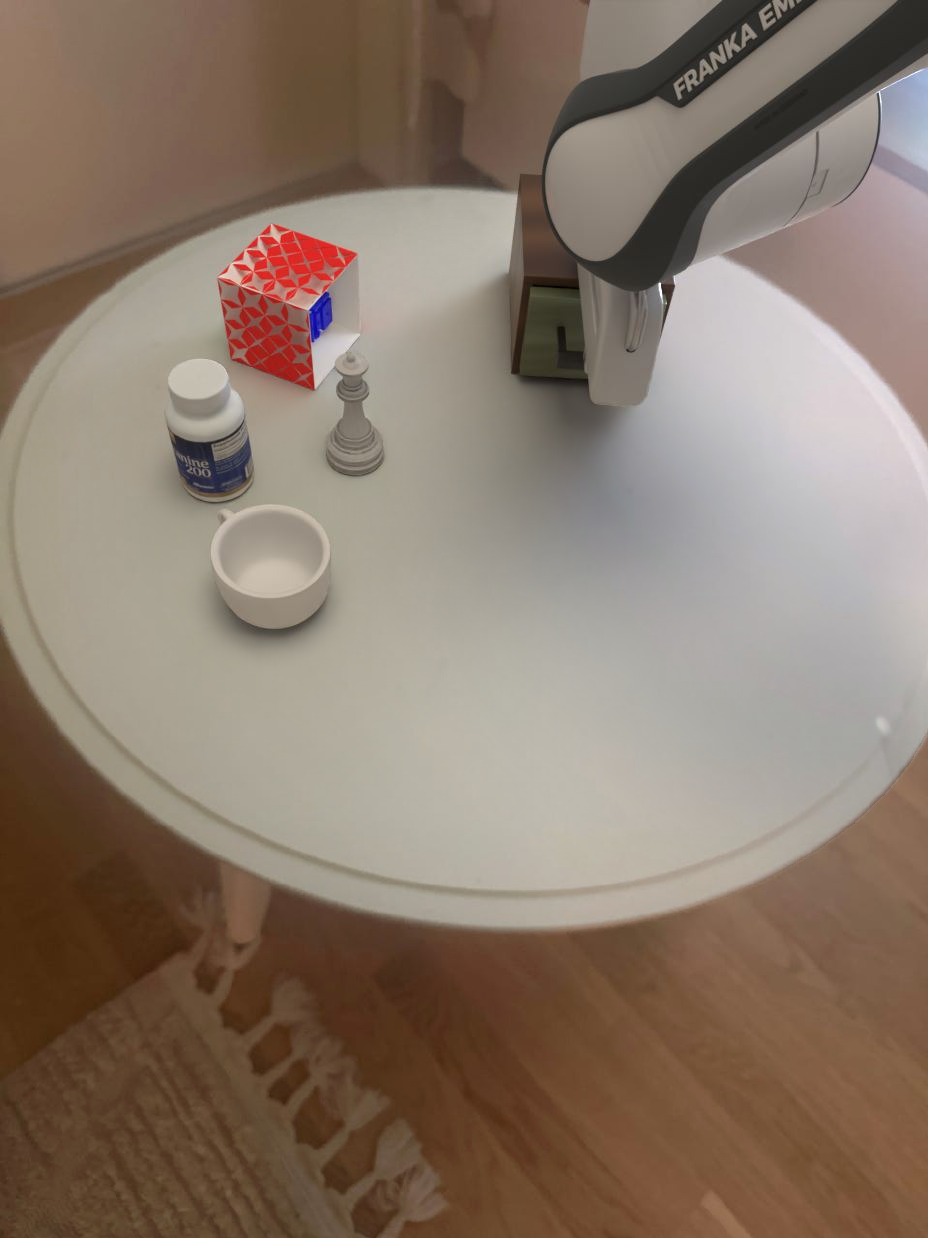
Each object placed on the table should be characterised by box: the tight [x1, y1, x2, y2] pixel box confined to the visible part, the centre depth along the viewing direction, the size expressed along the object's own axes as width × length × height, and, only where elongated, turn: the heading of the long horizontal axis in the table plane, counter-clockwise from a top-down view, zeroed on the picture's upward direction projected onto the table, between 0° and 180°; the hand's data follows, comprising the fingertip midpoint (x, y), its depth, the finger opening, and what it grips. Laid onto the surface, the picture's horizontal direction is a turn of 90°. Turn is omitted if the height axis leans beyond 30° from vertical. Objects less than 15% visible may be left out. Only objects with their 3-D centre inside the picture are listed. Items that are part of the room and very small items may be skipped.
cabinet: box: [508, 173, 676, 375], centre depth 82 cm, size 14×12×10 cm
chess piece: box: [325, 351, 385, 476], centre depth 72 cm, size 4×4×10 cm
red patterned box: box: [216, 222, 362, 391], centre depth 79 cm, size 8×8×8 cm
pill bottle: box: [164, 358, 255, 503], centre depth 70 cm, size 5×5×10 cm
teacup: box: [209, 503, 333, 630], centre depth 66 cm, size 10×8×5 cm
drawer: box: [519, 285, 667, 380], centre depth 80 cm, size 17×10×8 cm, turn 179°
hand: (594, 367), depth 74 cm, fingers closed
